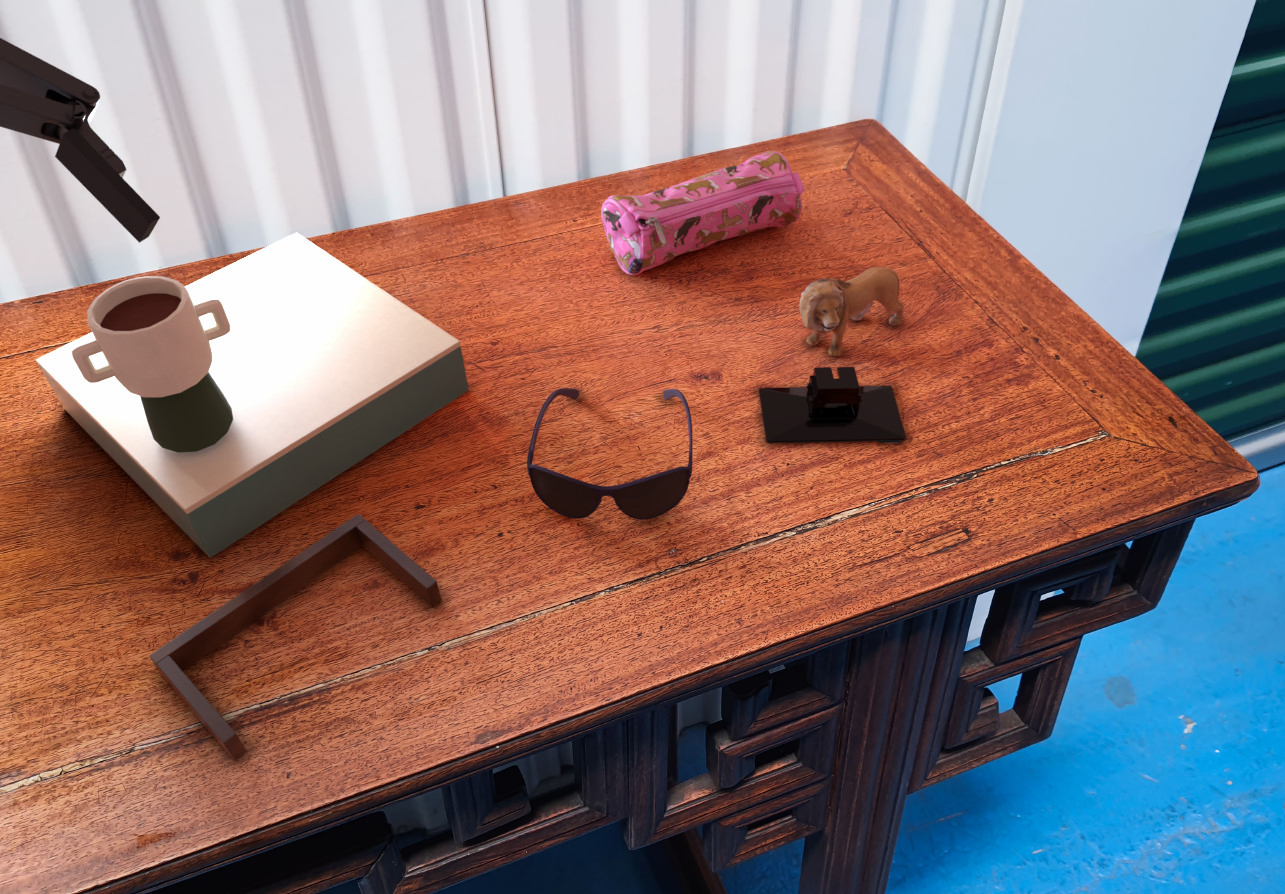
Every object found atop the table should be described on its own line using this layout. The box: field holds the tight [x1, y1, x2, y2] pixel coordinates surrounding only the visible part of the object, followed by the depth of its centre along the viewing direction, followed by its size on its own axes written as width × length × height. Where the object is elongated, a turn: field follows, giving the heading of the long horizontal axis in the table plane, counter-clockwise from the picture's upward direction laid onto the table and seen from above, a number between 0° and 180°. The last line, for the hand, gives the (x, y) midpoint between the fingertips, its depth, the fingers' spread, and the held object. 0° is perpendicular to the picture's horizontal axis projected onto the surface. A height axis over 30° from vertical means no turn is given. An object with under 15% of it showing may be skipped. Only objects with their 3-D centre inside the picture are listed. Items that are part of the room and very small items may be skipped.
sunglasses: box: [526, 387, 694, 521], centre depth 85 cm, size 14×16×5 cm
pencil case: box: [600, 150, 806, 276], centre depth 106 cm, size 21×9×9 cm, turn 118°
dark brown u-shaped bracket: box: [148, 513, 443, 762], centre depth 73 cm, size 18×10×2 cm, turn 137°
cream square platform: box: [35, 232, 470, 559], centre depth 91 cm, size 27×26×6 cm
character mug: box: [72, 275, 233, 453], centre depth 77 cm, size 11×7×13 cm, turn 124°
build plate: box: [758, 366, 907, 445], centre depth 89 cm, size 12×7×5 cm, turn 91°
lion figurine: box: [798, 266, 904, 357], centre depth 95 cm, size 15×5×9 cm, turn 133°
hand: (55, 291), depth 55 cm, fingers open, 13 cm apart
